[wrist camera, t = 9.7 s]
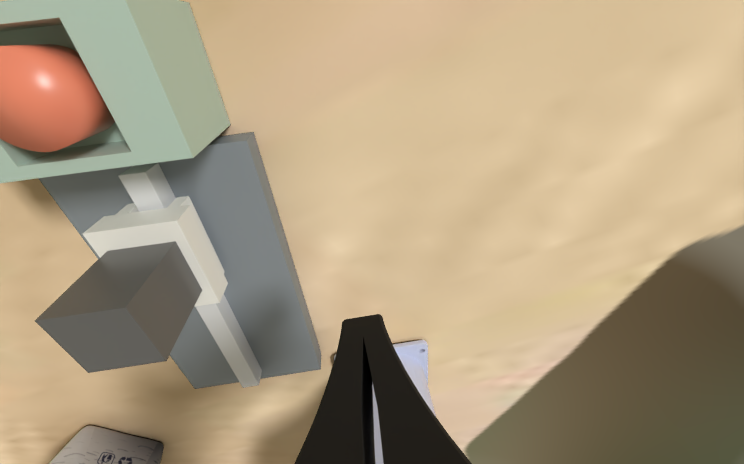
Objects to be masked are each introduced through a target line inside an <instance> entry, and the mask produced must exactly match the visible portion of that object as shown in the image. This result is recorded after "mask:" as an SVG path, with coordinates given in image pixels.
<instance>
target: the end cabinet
mask: <svg viewBox="0 0 744 464" xmlns="http://www.w3.org/2000/svg"><path fill="white" fill-rule="evenodd" d="M36 44H55V45H61V46H64V47H67V48H70V49H73V50H75V51H77V52H78V53H79V55H80V57H81V59H82V61H83V63H84V64H85V66H86V68H87V70H88V72H89V74H90V76H91V77H92V79H93V81H94V83H95V85H96V87H97V89H98V90H99V92H100V94H101V96H102V98H103V100H104V102H105V103H106V105H107V107H108V109H109V111H110V113H111V115H112V116H113V118H114V120H115V122H114V124H113V125H112V126H111V127H110V128H108V129H107V130H105V131H102V132H100V133H98V134H95V135H93V136H91V137H88V138H86V139H84V140H81V141H79V142H77V143H74V144H72V145H70V146H67V147H65V148H62V149H60V150H57V151H52V152H36V151H30V150H26V149H22V148H20V147H17V146H14V145H12V144H10V143H7V142H6V141H4V140H2V139H0V183H6V182H13V181H21V180H29V179H36V178H44V177H51V176H59V175H67V174H74V173H82V172H90V171H97V170H105V169H112V168H120V167H128V166H135V165H143V164H151V163H158V162H166V161H174V160H181V159H189V158H194V157H195V156H196V155H197V154H198V153H199V152H201V151H202V150H203V149H204V148H205V147H206V146H207V145H208V144H210V143H211V142H212V141H213V140H214V139H215V138H216V137H217V136H219V135H220V134H221V133H222V132H223V131H224V130H225V129H226V128H227V127H229V126H230V125H231V124H230V121H229V118H228V115H227V112H226V109H225V107H224V104H223V101H222V98H221V95H220V92H219V89H218V86H217V83H216V80H215V77H214V74H213V71H212V69H211V66H210V63H209V60H208V57H207V54H206V51H205V48H204V45H203V42H202V39H201V36H200V33H199V30H198V28H197V25H196V22H195V19H194V16H193V13H192V10H191V7H190V4H189V3H188V2H184V1H179V0H7V1H0V46H9V45H36Z"/></svg>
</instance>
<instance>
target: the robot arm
mask: <svg viewBox="0 0 744 464" xmlns="http://www.w3.org/2000/svg"><path fill="white" fill-rule="evenodd" d="M294 464H471V463H470V461H469V460H468V458H467V457H466V456H465V455H464V453H463V452H462V451H461V450H460V448H459V447H458V446H457V445H456V443H455V442H454V441H453V440H452V438H451V437H450V436H449V434H448V433H447V432H446V430H445V429H444V428H443V426H442V425H441V424H440V422H439V421H438V419H437V418H436V415H435V411H434V407H433V403H432V400H431V396H430V392H429V389H428V345H427V342H426V341H425V340H418V341H412V342H405V343H399V344H392V342H391V340H390V338H389V335H388V333H387V330H386V328H385V325H384V322H383V318H382V316H381V315H379V314H377V315H371V316H364V317H358V318H352V319H346V320H344V321H343V322H342V329H341V335H340V340H339V345H338V349H337V353H336V354H335V355H334V364H333V367H332V370H331V374H330V377H329V380H328V383H327V386H326V389H325V392H324V395H323V397H322V400H321V403H320V406H319V409H318V411H317V414H316V416H315V419H314V421H313V424H312V426H311V428H310V431H309V433H308V435H307V438H306V440H305V442H304V444H303V446H302V449H301V451H300V453H299V455H298V457H297V459H296V461H295V463H294Z"/></svg>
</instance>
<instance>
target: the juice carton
mask: <svg viewBox="0 0 744 464" xmlns="http://www.w3.org/2000/svg"><path fill="white" fill-rule="evenodd" d="M163 449H164V446H163V444H162V443H160V442H157V441H154V440H150V439H145V438H141V437H136V436H132V435H128V434H124V433H120V432H116V431H113V430H109V429H105V428H101V427H96V426H86V427H84V428H82V429H81V430H80V431H79V432H78V433H77V434H76V435H75V436H74V437H73V438H72V439H71V440H70V441H69V442H68V443H67V444H66V445H65V446H64V448H63V449H62V450H61V451H60V452H59V453H58V454H57V455H56V456H55V457H54V458H53V459H52V460H51V462H50V463H49V464H160V461H161V458H162V454H163Z"/></svg>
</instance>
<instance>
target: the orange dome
mask: <svg viewBox="0 0 744 464" xmlns="http://www.w3.org/2000/svg"><path fill="white" fill-rule="evenodd" d="M114 122H115V120H114V118H113V116H112V115H111V113H110V111H109V109H108V107H107V105H106V103H105V102H104V100H103V98H102V96H101V94H100V92H99V90H98V89H97V87H96V85H95V83H94V81H93V79H92V77H91V76H90V74H89V72H88V70H87V68H86V66H85V64H84V63H83V61H82V59H81V57H80V55H79V53H78V52H77V51H75V50H73V49H70V48H67V47H64V46H61V45H55V44H36V45H9V46H0V139H2V140H4V141H6V142H7V143H10V144H12V145H14V146H17V147H20V148H22V149H26V150H30V151H36V152H52V151H57V150H60V149H62V148H65V147H67V146H70V145H72V144H74V143H77V142H79V141H81V140H84V139H86V138H88V137H91V136H93V135H95V134H98V133H100V132H102V131H105V130H107V129H108V128H110V127H111V126H112V125H113V124H114Z"/></svg>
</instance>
